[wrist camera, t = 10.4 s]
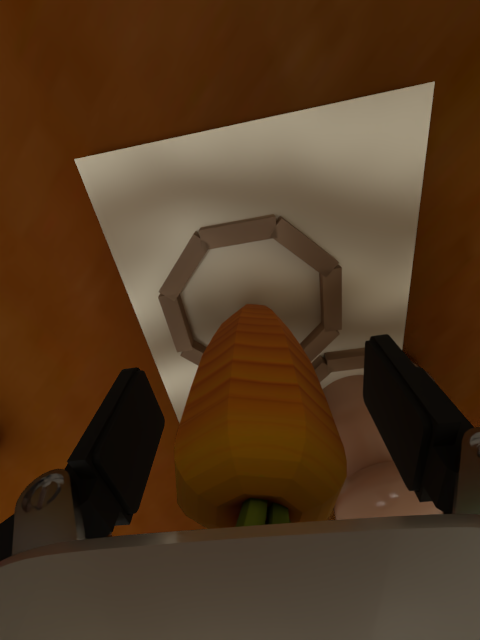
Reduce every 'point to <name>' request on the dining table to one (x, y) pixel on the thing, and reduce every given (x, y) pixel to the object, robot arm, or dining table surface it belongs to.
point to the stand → (270, 229)
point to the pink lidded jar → (367, 460)
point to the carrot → (257, 430)
